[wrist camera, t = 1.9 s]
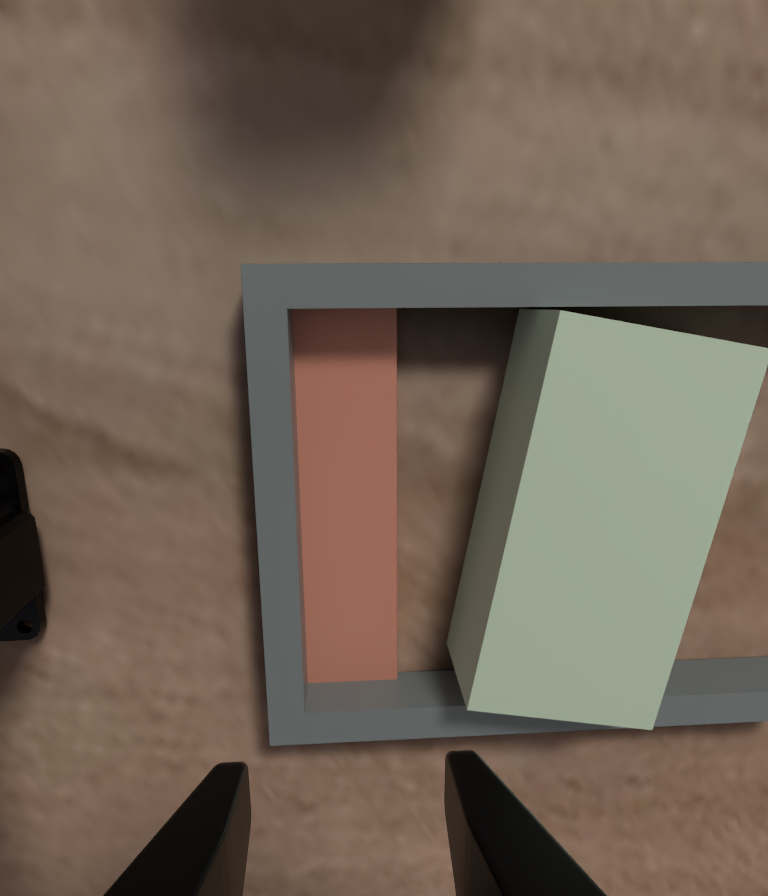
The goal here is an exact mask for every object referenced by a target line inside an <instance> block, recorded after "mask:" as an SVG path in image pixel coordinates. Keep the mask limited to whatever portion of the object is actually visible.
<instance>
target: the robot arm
mask: <svg viewBox="0 0 768 896" xmlns="http://www.w3.org/2000/svg"><path fill="white" fill-rule="evenodd" d="M0 460H2V461H3V462H4V463H5V464H6V466H7V470H6V472H5V471H2V470H0V641H15V640H29V639H33V638H35V637H36V636H37V635H38V634H39V633H40V632H41V631H42V630H43V629H44V627H45V625H46V616H45V610H44V604H43V597H42V591H41V590H42V588H43V587H44V586H45V581H44V574H43V568H42V561H41V555H40V548H39V542H38V535H37V529H36V522H35V517H34V516H33V515H32V514H31V513H30V512H29V508H28V501H27V495H26V489H25V482H24V476H23V469H22V463H21V461H20V458H19V457H18V456H17V454H16V453H14V452H13V451H11V450H8V449H0ZM23 620H28V621H29V622H31V624H32V626H33V627H28V626H26V625H25V624H24V622H23ZM444 802H445V816H446V824H447V831H448V838H449V846H450V853H451V860H452V868H453V875H454V882H455V890H456V896H607V895H606V894H605V893H604V892H603V891H602V890H601V889H600V888H599V887H598V886H597V884H596V883H595V882H594V881H593V880H592V879H591V878H590V877H589V876H588V875H587V873H586V872H585V871H584V870H583V869H582V868H581V867H580V866H579V865H578V864H577V863H576V861H575V860H574V859H573V858H572V857H571V856H570V855H569V854H568V853H567V852H566V850H565V849H564V848H563V847H562V846H561V845H560V844H559V843H558V842H557V841H556V839H555V838H554V837H553V836H552V835H551V834H550V833H549V832H548V831H547V830H546V828H545V827H544V826H543V825H542V824H541V823H540V822H539V821H538V820H537V819H536V818H535V816H534V815H533V814H532V813H531V812H530V811H529V810H528V809H527V808H526V807H525V805H524V804H523V803H522V802H521V801H520V800H519V799H518V798H517V797H516V796H515V794H514V793H513V792H512V791H511V790H510V789H509V788H508V787H507V786H506V785H505V783H504V782H503V781H502V780H501V779H500V778H499V777H498V776H497V775H496V774H495V772H494V771H493V770H492V769H491V768H490V767H489V766H488V765H487V764H486V763H485V762H484V760H483V759H482V758H481V757H480V756H479V755H478V754H477V753H476V752H474V751H472V750H464V751H450V752H448V753H447V755H446V758H445V796H444ZM250 826H251V802H250V788H249V774H248V767H247V765H246V763H244V762H225V763H219V764H217V765H216V766H215V767H214V768H213V769H212V770H211V771H210V772H209V773H208V775H207V776H206V777H205V778H204V779H203V780H202V782H201V783H200V784H199V785H198V786H197V787H196V789H195V790H194V791H193V792H192V793H191V794H190V796H189V797H188V798H187V799H186V800H185V801H184V802H183V804H182V805H181V806H180V807H179V808H178V809H177V811H176V812H175V813H174V814H173V815H172V816H171V818H170V819H169V820H168V821H167V822H166V823H165V825H164V826H163V827H162V828H161V829H160V830H159V832H158V833H157V834H156V835H155V836H154V837H153V839H152V840H151V841H150V842H149V843H148V844H147V845H146V847H145V848H144V849H143V850H142V851H141V852H140V854H139V855H138V856H137V857H136V858H135V859H134V861H133V862H132V863H131V864H130V865H129V866H128V868H127V869H126V870H125V871H124V872H123V873H122V875H121V876H120V877H119V878H118V879H117V880H116V882H115V883H114V884H113V885H112V886H111V887H110V888H109V890H108V891H107V892H106V893H105V894H104V895H103V896H242V895H243V887H244V878H245V870H246V861H247V852H248V844H249V835H250Z"/></svg>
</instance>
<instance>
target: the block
mask: <svg viewBox="0 0 768 896" xmlns="http://www.w3.org/2000/svg"><path fill="white" fill-rule="evenodd" d="M767 366H768V348H764V347H759V346H753V345H748V344H742V343H737V342H732V341H726V340H721V339H715V338H710V337H704V336H699V335H693V334H688V333H682V332H677V331H671V330H666V329H660V328H655V327H650V326H644V325H639V324H633V323H628V322H622V321H617V320H611V319H606V318H600V317H595V316H589V315H584V314H579V313H573V312H568V311H562V310H541V309H519V313H518V318H517V322H516V327H515V331H514V336H513V341H512V345H511V350H510V354H509V359H508V363H507V368H506V373H505V377H504V382H503V386H502V391H501V395H500V400H499V405H498V409H497V414H496V418H495V423H494V427H493V432H492V437H491V441H490V446H489V450H488V455H487V459H486V464H485V469H484V473H483V478H482V482H481V487H480V491H479V496H478V501H477V505H476V510H475V514H474V519H473V523H472V528H471V533H470V537H469V542H468V546H467V551H466V555H465V560H464V565H463V569H462V574H461V578H460V583H459V587H458V592H457V597H456V601H455V606H454V610H453V615H452V619H451V624H450V629H449V633H448V638H447V642H446V643H447V646H448V649H449V652H450V656H451V659H452V662H453V666H454V669H455V672H456V675H457V679H458V682H459V685H460V689H461V692H462V695H463V699H464V702H465V705H466V708H467V710H470V711H479V712H488V713H497V714H507V715H516V716H525V717H534V718H544V719H553V720H562V721H572V722H581V723H590V724H599V725H609V726H618V727H627V728H636V729H646V730H652V729H653V726H654V723H655V720H656V717H657V714H658V710H659V707H660V704H661V701H662V698H663V695H664V692H665V688H666V685H667V682H668V679H669V676H670V673H671V669H672V666H673V663H674V660H675V657H676V654H677V650H678V647H679V644H680V641H681V638H682V635H683V631H684V628H685V625H686V622H687V619H688V616H689V612H690V609H691V606H692V603H693V600H694V597H695V593H696V590H697V587H698V584H699V581H700V578H701V574H702V571H703V568H704V565H705V562H706V559H707V555H708V552H709V549H710V546H711V543H712V540H713V536H714V533H715V530H716V527H717V524H718V521H719V517H720V514H721V511H722V508H723V505H724V502H725V498H726V495H727V492H728V489H729V486H730V483H731V479H732V476H733V473H734V470H735V467H736V464H737V460H738V457H739V454H740V451H741V448H742V445H743V441H744V438H745V435H746V432H747V429H748V426H749V422H750V419H751V416H752V413H753V410H754V407H755V404H756V400H757V397H758V394H759V391H760V388H761V385H762V381H763V378H764V375H765V372H766V369H767Z"/></svg>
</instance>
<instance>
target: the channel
mask: <svg viewBox="0 0 768 896" xmlns="http://www.w3.org/2000/svg"><path fill="white" fill-rule="evenodd" d="M241 279H242V296H243V312H244V329H245V345H246V361H247V378H248V394H249V411H250V427H251V444H252V460H253V477H254V493H255V509H256V526H257V542H258V559H259V575H260V592H261V608H262V625H263V641H264V657H265V674H266V690H267V707H268V723H269V740H270V746H280V745H300V744H320V743H340V742H360V741H380V740H400V739H420V738H441V737H461V736H481V735H501V734H521V733H541V732H561V731H581V730H601V729H621V728H627V727H618V726H609V725H599V724H590V723H581V722H572V721H562V720H553V719H544V718H534V717H525V716H516V715H507V714H497V713H488V712H479V711H470V710H467V708H466V705H465V702H464V699H463V695H462V692H461V689H460V685H459V682H458V679H457V675H456V672H455V670H443V671H420V672H397V308H459V307H601V306H742V305H768V262H715V263H337V264H241ZM762 721H768V656H767V657H744V658H721V659H698V660H675V661H674V663H673V666H672V669H671V673H670V676H669V679H668V682H667V685H666V688H665V692H664V695H663V698H662V701H661V704H660V707H659V710H658V714H657V717H656V720H655V723H654V726H653V727H661V726H681V725H701V724H722V723H742V722H762Z"/></svg>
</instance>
